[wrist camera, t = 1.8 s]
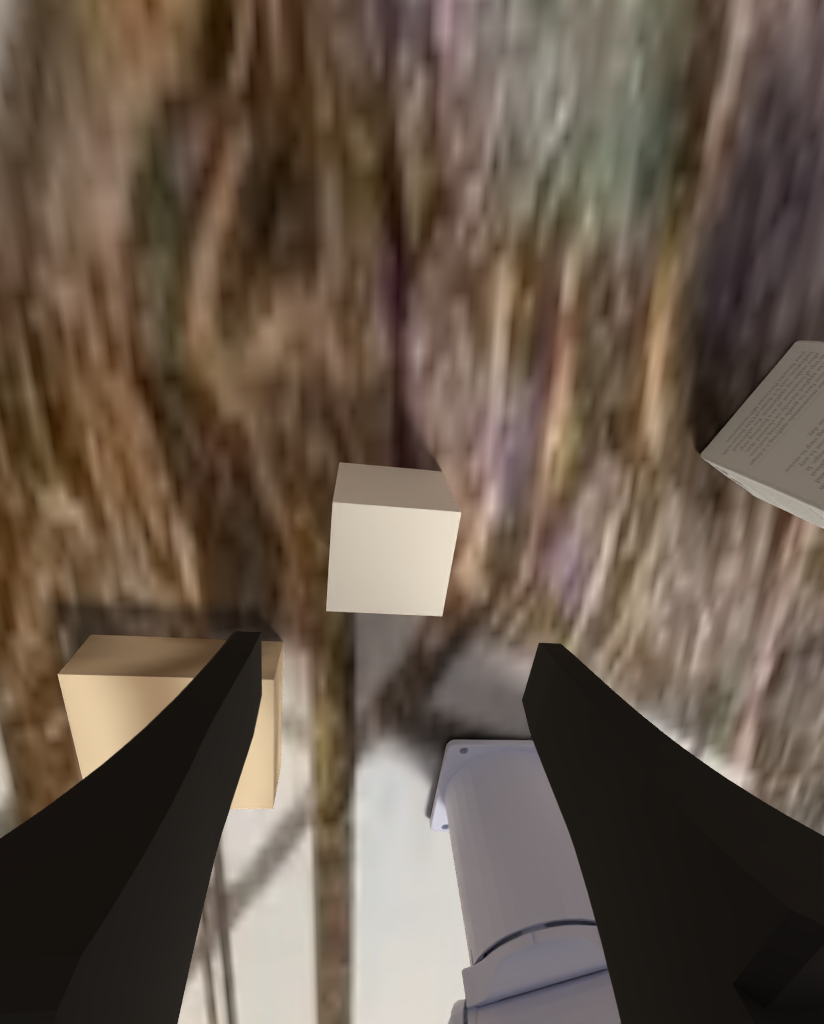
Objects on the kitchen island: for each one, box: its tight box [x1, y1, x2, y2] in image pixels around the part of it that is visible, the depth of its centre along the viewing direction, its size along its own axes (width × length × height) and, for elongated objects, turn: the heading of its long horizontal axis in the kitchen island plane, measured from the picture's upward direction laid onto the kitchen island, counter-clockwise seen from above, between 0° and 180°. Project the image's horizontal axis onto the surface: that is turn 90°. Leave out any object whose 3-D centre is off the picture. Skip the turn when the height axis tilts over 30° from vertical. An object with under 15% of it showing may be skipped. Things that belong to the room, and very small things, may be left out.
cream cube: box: [326, 462, 461, 616], centre depth 19 cm, size 4×4×4 cm
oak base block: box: [58, 634, 283, 809], centre depth 23 cm, size 9×9×3 cm
